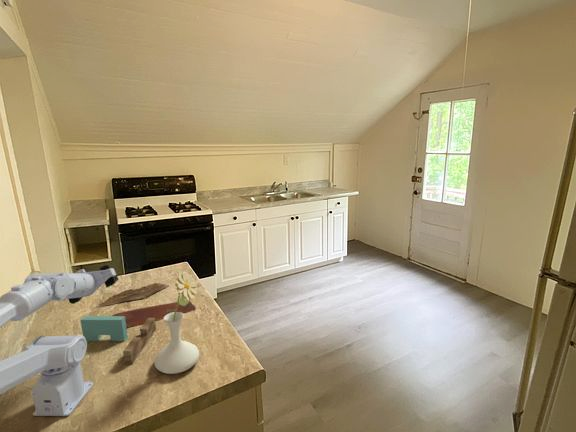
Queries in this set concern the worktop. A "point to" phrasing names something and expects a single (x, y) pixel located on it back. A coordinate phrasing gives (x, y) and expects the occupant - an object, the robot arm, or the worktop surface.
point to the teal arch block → (104, 327)
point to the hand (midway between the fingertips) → (103, 283)
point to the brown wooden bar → (139, 341)
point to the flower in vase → (178, 332)
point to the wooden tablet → (152, 313)
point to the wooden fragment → (134, 294)
